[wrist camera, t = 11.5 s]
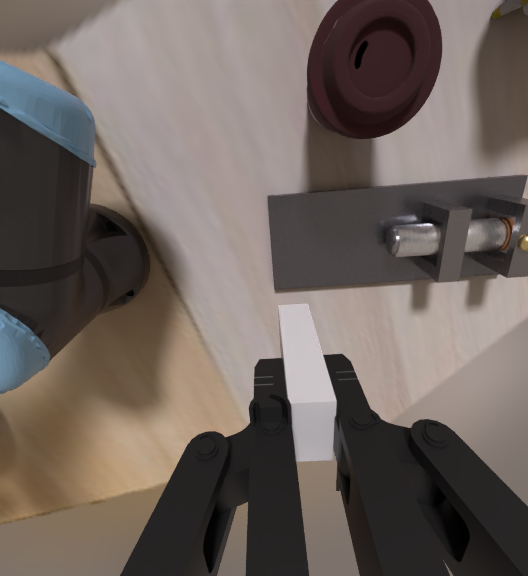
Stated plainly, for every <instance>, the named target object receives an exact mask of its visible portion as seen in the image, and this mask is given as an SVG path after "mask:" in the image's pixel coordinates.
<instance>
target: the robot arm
mask: <svg viewBox="0 0 528 576" xmlns="http://www.w3.org/2000/svg"><path fill="white" fill-rule="evenodd" d="M94 142H95V121H94V118H93V115H92V113H91V111H90V110H89V108H88V107H87V106H86V105H85V104H84V103H83V102H82V101H81V100H80V99H78V98H77V97H75V96H74V95H72V94H70V93H68V92H66V91H64V90H62V89H60V88H58V87H56V86H54V85H52V84H50V83H48V82H46V81H44V80H41V79H39V78H37V77H35V76H33V75H31V74H29V73H27V72H25V71H22V70H20V69H18V68H16V67H14V66H12V65H10V64H7V63H5V62H3V61H1V60H0V394H2V393H5V392H7V391H10V390H13V389H16V388H17V387H19V386H21V385H22V384H23V383H25V382H26V381H27V380H29V379H30V378H31V377H33V376H34V375H35V374H37V373H38V372H39V371H41V370H43V369H44V368H45V367H46V366H47V365H48V363H49V362H50V360H51V359H52V358H53V357H54V356H55V355H56V354H57V353H58V352H60V351H61V350H62V349H63V348H64V347H65V346H66V345H67V344H68V343H69V342H70V341H71V340H72V339H73V338H74V337H75V336H76V335H77V334H78V333H79V332H80V331H81V330H82V329H83V328H84V327H86V326H87V325H88V324H89V323H90V322H91V321H92V320H93V319H94V318H95V317H96V316H97V315H98V314H101V313H104V312H107V311H110V310H113V309H116V308H119V307H121V306H123V305H125V304H127V303H128V302H130V301H131V300H132V299H133V298H134V297H135V296H136V295H137V294H138V293H139V292H140V291H141V290H142V288H143V287H144V285H145V283H146V281H147V279H148V275H149V269H150V261H149V255H148V251H147V248H146V245H145V243H144V241H143V239H142V237H141V236H140V234H139V233H138V231H137V230H136V229H135V228H134V227H133V225H132V224H131V223H130V222H129V221H127V220H126V219H125V218H124V217H122V216H121V215H120V214H118V213H116V212H115V211H113V210H111V209H109V208H106V207H103V206H100V205H96V204H90V199H91V189H92V179H93V168H94V167H95V168H96V161H95V160H94ZM278 311H279V331H280V350H281V358H275V359H260V360H259V361H258V363H257V365H256V366H255V374H254V399H253V400H252V401H251V402H250V406H249V414H250V424H249V425H248V426H247V427H246V428H245V429H244V430H242V431H241V432H239V433H237V434H234V435H231V436H228V437H226V438H225V437H224V436H223V435H222V434H221V433H218V432H215V431H212V432H204V433H201V434H199V435H197V436H196V437H195V438H193V439H192V440H191V441H190V443H189V444H188V445H187V447H186V449H185V451H184V453H183V455H182V457H181V458H180V460H179V462H178V464H177V466H176V468H175V470H174V472H173V474H172V476H171V478H170V480H169V482H168V484H167V486H166V488H165V490H164V492H163V493H162V496H161V497H160V499H159V501H158V503H157V505H156V507H155V509H154V511H153V513H152V515H151V517H150V519H149V521H148V523H147V525H146V526H145V528H144V531H143V532H142V534H141V536H140V538H139V540H138V542H137V544H136V546H135V548H134V550H133V552H132V554H131V556H130V557H129V559H128V561H127V563H126V565H125V567H124V569H123V571H122V573H121V575H120V576H217V573H218V569H219V566H220V563H221V559H222V556H223V552H224V549H225V546H226V542H227V538H228V535H229V532H230V528H231V525H232V521H233V518H234V514H235V511H236V508H237V506H239V505H242V504H243V503H246V502H248V526H247V555H246V576H309V570H308V561H307V553H306V544H305V535H304V526H303V517H302V509H301V501H300V491H299V482H298V474H297V465H296V462H302V461H303V462H305V461H325V460H334V452H335V456H336V460H337V480H336V491H341V495H342V499H343V504H344V508H345V513H346V517H347V521H348V526H349V530H350V535H351V539H352V543H353V547H354V552H355V557H356V561H357V565H358V570H359V574H360V576H450V575H449V572H448V570H447V568H446V566H445V563H446V565H447V566H448V568H449V569H450V571H451V572H452V574H453V575H454V576H528V506H527V505H526V504H525V503H524V502H523V501H521V499H520V498H518V496H517V495H516V494H515V493H514V492H513V491H512V490H511V489H510V488H509V487H508V486H507V485H506V484H505V483H504V482H503V481H502V480H501V479H500V478H499V477H498V476H497V475H496V474H495V473H494V472H493V471H492V470H491V469H490V468H489V467H488V466H487V465H486V464H485V463H484V462H483V461H482V460H481V459H480V458H479V457H478V456H477V455H476V454H475V453H474V451H473V450H472V449H470V447H469V446H468V445H467V444H466V443H465V442H464V441H463V440H462V439H461V438H460V437H459V436H458V435H457V434H456V433H455V432H454V431H453V430H451V429H450V428H449V427H447V426H446V425H444V424H442V423H440V422H438V421H434V420H429V419H424V420H419V421H417V422H415V423H414V424H413V425H412V427H411V428H407V427H402V426H397V425H394V424H390V423H388V422H386V421H384V420H382V419H381V418H380V417H379V415H378V414H377V413H375V412H374V411H373V410H371V408H370V407H369V404H368V402H367V399H366V397H365V395H364V392H363V390H362V387H361V385H360V383H359V380H358V379H357V375H356V373H355V372H354V368H353V366H352V363H351V361H350V360H349V359H347V358H346V357H345V356H344V355H343V354H332V355H323V353H322V350H321V347H320V343H319V340H318V337H317V333H316V330H315V326H314V323H313V320H312V316H311V313H310V310H309V306H308V304H293V305H278ZM442 558H443V559H442ZM443 560H444V561H443ZM444 562H445V563H444Z"/></svg>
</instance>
